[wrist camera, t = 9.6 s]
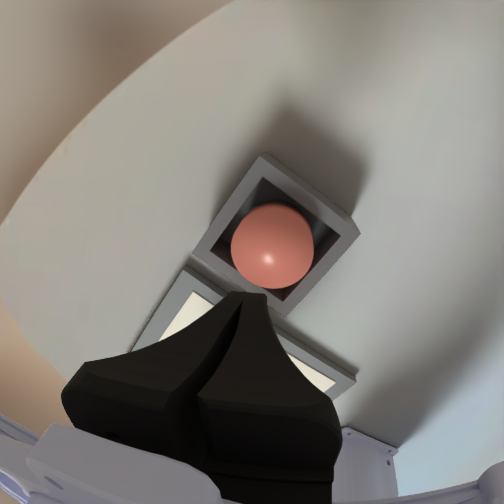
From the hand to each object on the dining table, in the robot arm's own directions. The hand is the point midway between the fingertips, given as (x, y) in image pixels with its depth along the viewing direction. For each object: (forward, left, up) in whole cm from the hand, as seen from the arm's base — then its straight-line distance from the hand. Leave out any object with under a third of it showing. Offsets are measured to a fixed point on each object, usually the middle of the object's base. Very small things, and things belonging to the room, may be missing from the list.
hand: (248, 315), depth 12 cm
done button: (0, -1, -8) cm, 8 cm away
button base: (0, 0, -10) cm, 11 cm away
